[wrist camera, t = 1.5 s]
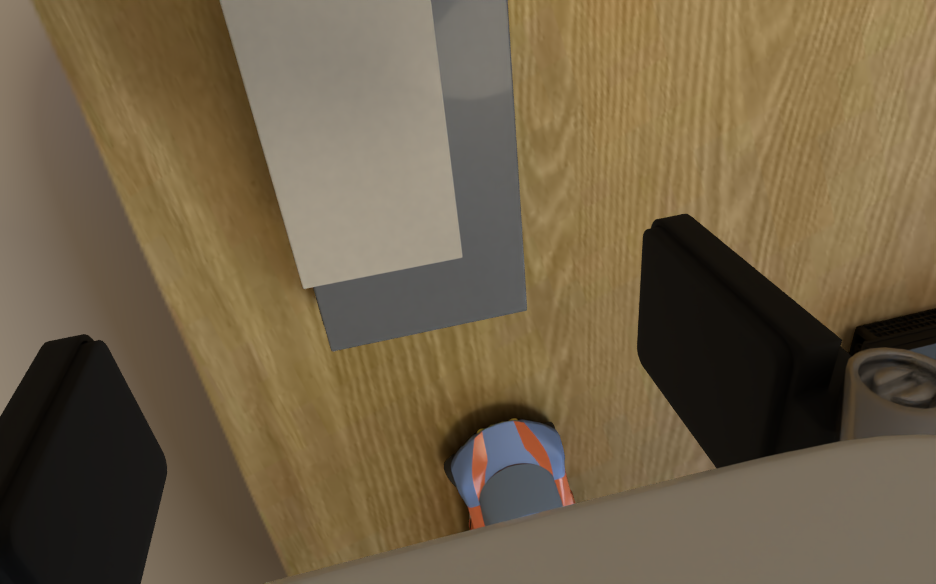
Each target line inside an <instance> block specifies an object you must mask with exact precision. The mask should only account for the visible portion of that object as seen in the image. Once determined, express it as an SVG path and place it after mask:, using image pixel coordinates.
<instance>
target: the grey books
mask: <svg viewBox="0 0 936 584" xmlns="http://www.w3.org/2000/svg"><path fill="white" fill-rule="evenodd" d="M431 5H432V14H433V22H434V30H435V38H436V46H437V54H438V62H439V70H440V78H441V86H442V94H443V102H444V110H445V118H446V127H447V135H448V143H449V151H450V159H451V167H452V175H453V183H454V191H455V199H456V207H457V215H458V223H459V232H460V240H461V248H462V258H458V259H453V260H448V261H443V262H438V263H433V264H428V265H423V266H418V267H412V268H407V269H402V270H397V271H392V272H387V273H382V274H377V275H372V276H367V277H362V278H357V279H352V280H347V281H342V282H337V283H332V284H326V285H321V286H316V287H313V289H314V292H315V296H316V299H317V303H318V307H319V310H320V314H321V317H322V321H323V324H324V327H325V330H326V334H327V337H328V341H329V344H330V348H331V351H337V350H342V349H346V348H351V347H356V346H360V345H365V344H370V343H375V342H379V341H384V340H389V339H394V338H398V337H403V336H408V335H413V334H417V333H422V332H427V331H432V330H436V329H441V328H446V327H451V326H455V325H460V324H465V323H470V322H474V321H479V320H484V319H489V318H493V317H498V316H503V315H507V314H512V313H517V312H522V311H526V310H527V300H526V285H525V269H524V253H523V238H522V222H521V206H520V190H519V175H518V159H517V143H516V127H515V112H514V96H513V80H512V65H511V49H510V33H509V17H508V2H507V0H431Z"/></svg>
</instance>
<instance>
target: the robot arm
mask: <svg viewBox="0 0 936 584" xmlns="http://www.w3.org/2000/svg"><path fill="white" fill-rule="evenodd" d="M841 341H842V340H841V339H840V338H839V337H838V336H837V335H835V334H834V333H833V332H832V331H830V330H829V329H828V328H827V327H826V326H824V325H823V324H822V323H821V322H819V321H818V320H817V319H816V318H815V317H813V316H812V315H811V314H810V313H808V312H807V311H806V310H805V309H804V308H802V307H801V306H800V305H799V304H797V303H796V302H795V301H794V300H793V299H791V298H790V297H789V296H788V295H787V294H785V293H784V292H783V291H782V290H780V289H779V288H778V287H777V286H776V285H774V284H773V283H772V282H771V281H769V280H768V279H767V278H766V277H765V276H763V275H762V274H761V273H760V272H758V271H757V270H756V269H755V268H754V267H752V266H751V265H750V264H749V263H747V262H746V261H745V260H744V259H743V258H741V257H740V256H739V255H738V254H737V253H735V252H734V251H733V250H732V249H730V248H729V247H728V246H727V245H726V244H724V243H723V242H722V241H721V240H719V239H718V238H717V237H716V236H715V235H713V234H712V233H711V232H710V231H708V230H707V229H706V228H705V227H704V226H702V225H701V224H700V223H699V222H697V221H696V220H695V219H694V218H693V217H691V216H690V215H688V214H681V215H676V216H671V217H666V218H661V219H656V220H655V221H654V222H653V224H652V226H651V229H647V230H646V231H645V232H644V234H643V245H642V264H641V283H640V302H639V320H638V339H637V351H638V356H639V359H640V362H641V364H642V366H643V367H644V369H645V370H646V371H647V373H648V374H649V375H650V377H651V378H652V380H653V381H654V382H655V384H656V385H657V387H658V388H659V389H660V391H661V392H662V393H663V395H664V396H665V398H666V399H667V400H668V402H669V403H670V404H671V406H672V407H673V409H674V410H675V411H676V413H677V414H678V416H679V417H680V418H681V420H682V421H683V422H684V424H685V425H686V427H687V428H688V429H689V431H690V432H691V434H692V435H693V436H694V438H695V439H696V440H697V442H698V443H699V445H700V446H701V447H702V449H703V450H704V451H705V453H706V454H707V456H708V457H709V458H710V460H711V461H712V463H713V464H714V465H715V467H716V468H717V469H713V470H708V471H704V472H700V473H695V474H691V475H687V476H683V477H679V478H675V479H671V480H667V481H663V482H659V483H655V484H651V485H647V486H643V487H639V488H635V489H631V490H627V491H623V492H619V493H615V494H611V495H607V496H603V497H599V498H595V499H591V500H587V501H583V502H579V503H575V504H571V505H567V506H563V507H559V508H555V509H551V510H547V511H543V512H539V513H535V514H532V515H528V516H524V517H520V518H516V519H512V520H508V521H504V522H500V523H496V524H492V525H488V526H485V527H481V528H477V529H473V530H469V531H465V532H461V533H457V534H453V535H449V536H445V537H441V538H438V539H434V540H430V541H426V542H422V543H418V544H414V545H410V546H406V547H402V548H399V549H395V550H391V551H387V552H383V553H379V554H375V555H371V556H367V557H364V558H360V559H356V560H352V561H348V562H344V563H340V564H336V565H333V566H329V567H325V568H321V569H317V570H314V571H310V572H306V573H302V574H298V575H294V576H291V577H287V578H283V579H280V580H275V581H271V582H268V583H264V584H936V360H935V359H932V358H930V357H928V356H925V355H923V354H920V353H916V352H912V351H908V350H905V349H897V348H887V347H884V348H870V349H867V350H864V351H860V352H857V353H856V354H855V355H853V356H851V355H849V354H848V353H847V352H846V351H845V350H843V349H842V348H841V347H840V345H841ZM166 476H167V464H166V459H165V456H164V453H163V451H162V449H161V448H160V446H159V444H158V442H157V440H156V438H155V436H154V435H153V432H152V431H151V428H150V427H149V425H148V423H147V421H146V419H145V417H144V415H143V413H142V412H141V410H140V407H139V406H138V404H137V402H136V400H135V398H134V396H133V394H132V392H131V390H130V388H129V387H128V385H127V383H126V381H125V379H124V377H123V375H122V373H121V372H120V369H119V367H118V366H117V364H116V362H115V360H114V358H113V356H112V354H111V352H110V350H109V348H108V347H107V345H106V344H105V343H104V342H103V341H101V340H98V341H94V340H93V339H92V338H91V337H89V336H88V335H85V334H83V335H78V336H73V337H68V338H63V339H58V340H53V341H48V342H46V343H44V345H43V346H42V347H41V349H40V350H39V352H38V354H37V356H36V357H35V359H34V361H33V362H32V364H31V365H30V367H29V369H28V371H27V372H26V374H25V376H24V377H23V379H22V381H21V383H20V384H19V386H18V387H17V389H16V391H15V393H14V394H13V396H12V398H11V399H10V401H9V403H8V404H7V406H6V408H5V410H4V411H3V413H2V415H1V416H0V584H141V580H142V576H143V571H144V567H145V563H146V559H147V555H148V550H149V546H150V542H151V538H152V534H153V530H154V526H155V522H156V517H157V514H158V509H159V505H160V501H161V497H162V492H163V488H164V484H165V480H166Z"/></svg>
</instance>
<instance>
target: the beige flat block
mask: <svg viewBox="0 0 936 584" xmlns="http://www.w3.org/2000/svg"><path fill="white" fill-rule="evenodd" d="M220 4H221V7H222V11H223V14H224V18H225V21H226V25H227V28H228V31H229V35H230V38H231V42H232V45H233V49H234V52H235V56H236V59H237V62H238V66H239V69H240V73H241V76H242V80H243V83H244V87H245V90H246V93H247V97H248V100H249V104H250V107H251V111H252V114H253V118H254V121H255V124H256V128H257V131H258V135H259V138H260V142H261V145H262V149H263V152H264V155H265V159H266V162H267V166H268V169H269V173H270V176H271V180H272V183H273V187H274V190H275V193H276V197H277V200H278V204H279V207H280V211H281V214H282V218H283V221H284V224H285V228H286V231H287V235H288V238H289V242H290V245H291V249H292V252H293V255H294V259H295V262H296V266H297V269H298V273H299V276H300V280H301V283H302V286H303V288H304V289H306V288H311V287H316V286H321V285H326V284H332V283H337V282H342V281H347V280H352V279H357V278H362V277H367V276H372V275H377V274H382V273H387V272H392V271H397V270H402V269H407V268H412V267H418V266H423V265H428V264H433V263H438V262H443V261H448V260H453V259H458V258H462V248H461V240H460V232H459V223H458V215H457V207H456V199H455V191H454V183H453V175H452V167H451V159H450V151H449V143H448V135H447V127H446V118H445V110H444V102H443V94H442V86H441V78H440V70H439V62H438V54H437V46H436V38H435V30H434V22H433V14H432V5H431V0H220Z"/></svg>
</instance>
